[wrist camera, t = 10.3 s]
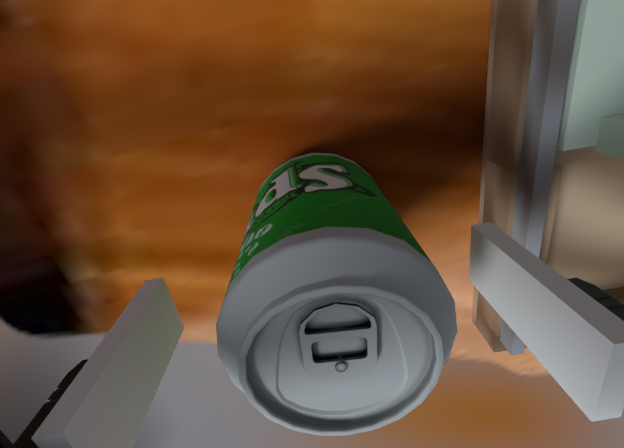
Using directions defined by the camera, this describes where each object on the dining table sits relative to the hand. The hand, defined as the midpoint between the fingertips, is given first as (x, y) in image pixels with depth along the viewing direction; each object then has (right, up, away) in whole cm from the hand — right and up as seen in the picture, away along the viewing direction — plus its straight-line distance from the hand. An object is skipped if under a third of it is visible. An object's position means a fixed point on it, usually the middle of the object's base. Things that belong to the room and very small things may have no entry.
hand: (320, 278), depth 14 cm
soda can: (0, +3, +6) cm, 7 cm away
